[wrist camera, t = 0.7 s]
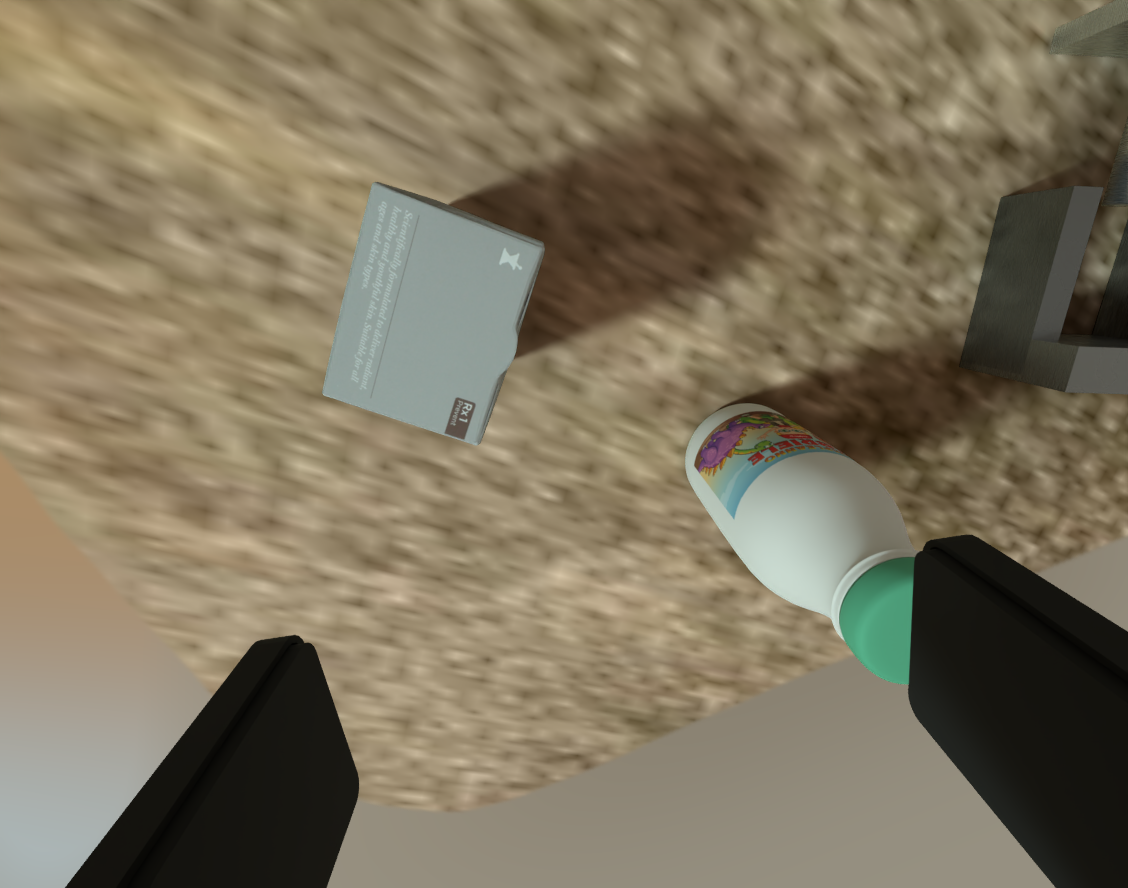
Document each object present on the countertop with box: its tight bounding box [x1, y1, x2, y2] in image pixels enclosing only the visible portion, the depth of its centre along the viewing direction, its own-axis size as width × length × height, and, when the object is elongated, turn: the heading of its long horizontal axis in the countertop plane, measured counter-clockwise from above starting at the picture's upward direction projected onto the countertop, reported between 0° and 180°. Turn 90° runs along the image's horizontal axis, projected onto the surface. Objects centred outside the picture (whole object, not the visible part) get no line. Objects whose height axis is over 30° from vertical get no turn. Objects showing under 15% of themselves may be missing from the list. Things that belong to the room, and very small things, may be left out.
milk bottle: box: [685, 403, 920, 684], centre depth 29 cm, size 8×8×20 cm
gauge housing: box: [959, 186, 1128, 394], centre depth 32 cm, size 10×10×8 cm
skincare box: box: [322, 182, 545, 445], centre depth 28 cm, size 8×7×16 cm
